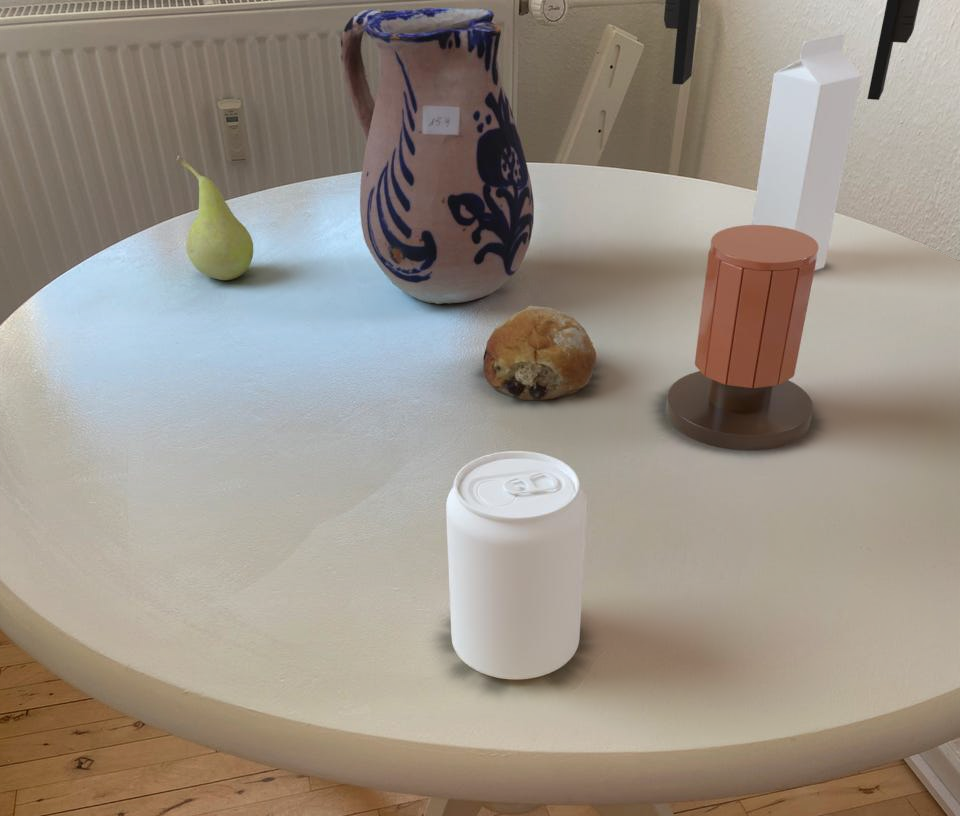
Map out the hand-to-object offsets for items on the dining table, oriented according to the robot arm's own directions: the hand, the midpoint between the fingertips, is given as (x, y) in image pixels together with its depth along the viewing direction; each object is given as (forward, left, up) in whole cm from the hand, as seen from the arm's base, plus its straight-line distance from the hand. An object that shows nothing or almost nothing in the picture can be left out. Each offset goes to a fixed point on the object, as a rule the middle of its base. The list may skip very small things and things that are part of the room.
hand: (775, 87), depth 75 cm
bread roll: (+17, 0, -25) cm, 30 cm away
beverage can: (+9, +36, -25) cm, 44 cm away
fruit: (+56, -14, -25) cm, 63 cm away
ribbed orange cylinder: (-1, +2, -20) cm, 20 cm away
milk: (-2, -33, -25) cm, 42 cm away
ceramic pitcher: (+33, -18, -25) cm, 45 cm away
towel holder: (-1, +2, -25) cm, 25 cm away
